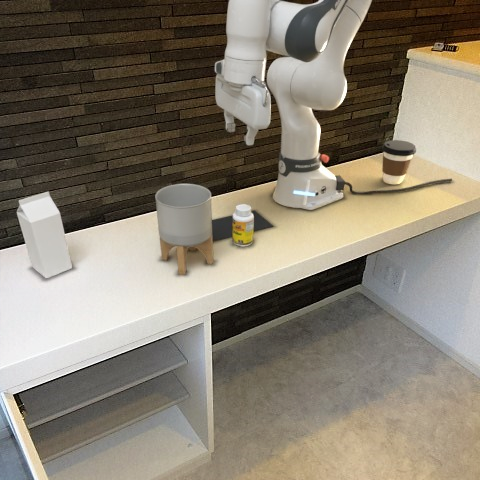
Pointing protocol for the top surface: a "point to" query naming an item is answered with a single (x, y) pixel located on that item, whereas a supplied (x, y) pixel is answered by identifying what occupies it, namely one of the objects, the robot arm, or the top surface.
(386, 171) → the coffee cup
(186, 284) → the top surface
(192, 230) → the planter
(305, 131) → the robot arm
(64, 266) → the milk carton
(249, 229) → the supplement bottle
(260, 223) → the rubber mat
